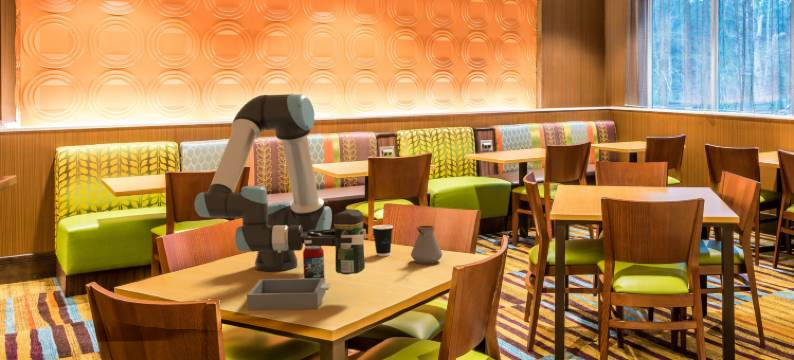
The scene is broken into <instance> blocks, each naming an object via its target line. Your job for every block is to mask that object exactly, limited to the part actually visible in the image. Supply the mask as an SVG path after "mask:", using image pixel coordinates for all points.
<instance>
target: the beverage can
mask: <svg viewBox="0 0 794 360" xmlns="http://www.w3.org/2000/svg"><path fill="white" fill-rule="evenodd" d="M302 252H303V253H302V258H303V261H302V263H303V279H305V278H325V277H326V276H325V254H324V249H323V247H322V246H305V245H304V249H303V251H302ZM325 279H326V278H325Z"/></svg>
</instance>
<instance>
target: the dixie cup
mask: <svg viewBox="0 0 794 360" xmlns="http://www.w3.org/2000/svg"><path fill="white" fill-rule="evenodd" d="M371 228H372V230H373V238H374V247H375V252H376V256H378V255H379V257H389V256H390V253H391V249H392V248H391V247H392V235H393V228H394V226H393V225H391V224H379V225H373V226H371ZM388 255H389V256H388Z"/></svg>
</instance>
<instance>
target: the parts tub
mask: <svg viewBox="0 0 794 360" xmlns="http://www.w3.org/2000/svg"><path fill="white" fill-rule="evenodd" d="M330 288H331V283H328V282H327V283H326V278H305V279H304V278H265V279H264V278H261V279H259V280H258V281H257V282H256V283H255V285H254V286H253V287H252V288H251V289H250V290H249V292H248V293H247V294H246V301H247V302H246V303H247V311H263V310H264V311H266V310H267V311H268V310H269V311H271V310H272V311H273V310H318V309H319V308H320V306H321V304H322V300H323V299H324V297H325V294H326V291H329V290H330Z"/></svg>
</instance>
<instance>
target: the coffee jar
mask: <svg viewBox="0 0 794 360" xmlns="http://www.w3.org/2000/svg"><path fill="white" fill-rule="evenodd" d="M333 226H334V227H333V229H335V236H341V235H363V229H364V215H363V212H361V210H360V209H346V210H343V211H341V212H337V214H334V215H333ZM334 247H335V246H334ZM364 249H365V248H364V244H359V245H341V247H340V248H338V246H336V247H335V259H334V261H335V265H334V266H335V272H336V274H340V275H345V276H347V275H354V274H355V275H356V274H359V273H361V272H362V271H364V270H365V268H366V267H365V266H366V265H365V264H366V263H365V262H366V260H365V250H364Z"/></svg>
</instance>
